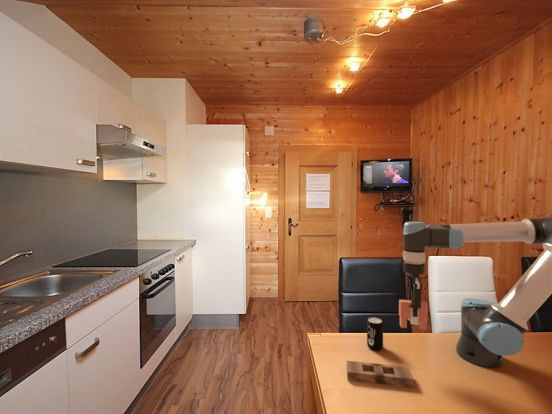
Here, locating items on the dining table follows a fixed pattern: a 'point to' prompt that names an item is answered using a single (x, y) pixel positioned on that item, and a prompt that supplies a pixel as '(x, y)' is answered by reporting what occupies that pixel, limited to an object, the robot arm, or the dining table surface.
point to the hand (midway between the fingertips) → (413, 322)
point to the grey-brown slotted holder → (379, 374)
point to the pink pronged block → (405, 313)
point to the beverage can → (375, 333)
